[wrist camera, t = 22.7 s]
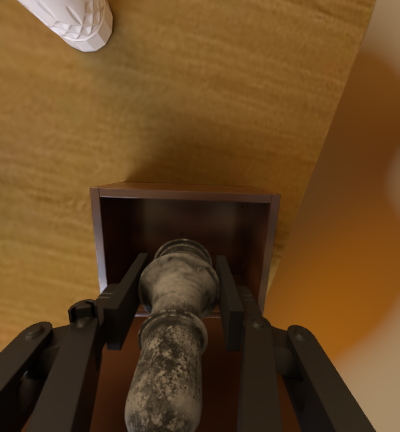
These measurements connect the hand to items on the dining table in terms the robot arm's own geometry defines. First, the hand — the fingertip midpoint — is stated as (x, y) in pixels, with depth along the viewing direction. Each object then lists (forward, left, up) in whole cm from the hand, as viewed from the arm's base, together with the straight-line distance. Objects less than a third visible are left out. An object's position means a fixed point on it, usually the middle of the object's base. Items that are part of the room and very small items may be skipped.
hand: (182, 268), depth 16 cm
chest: (-1, +1, -12) cm, 13 cm away
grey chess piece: (0, 0, -1) cm, 1 cm away
